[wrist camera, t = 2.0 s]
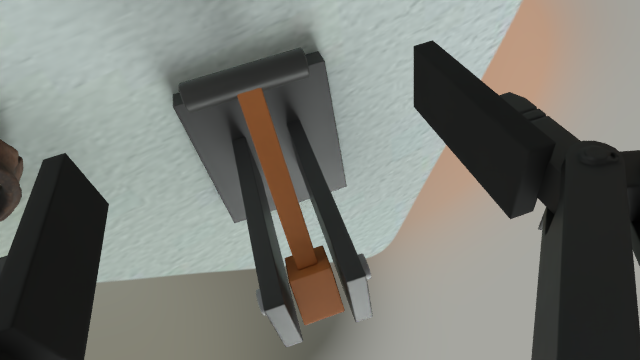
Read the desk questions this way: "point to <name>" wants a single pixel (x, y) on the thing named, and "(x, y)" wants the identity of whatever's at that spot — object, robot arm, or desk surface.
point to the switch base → (307, 178)
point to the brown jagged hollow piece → (9, 179)
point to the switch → (274, 168)
